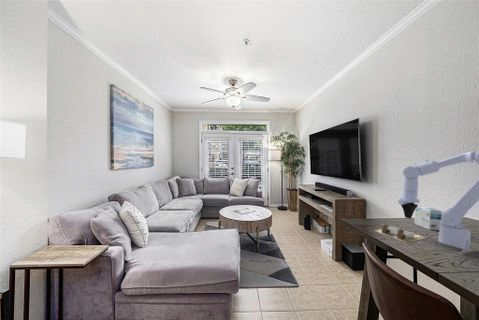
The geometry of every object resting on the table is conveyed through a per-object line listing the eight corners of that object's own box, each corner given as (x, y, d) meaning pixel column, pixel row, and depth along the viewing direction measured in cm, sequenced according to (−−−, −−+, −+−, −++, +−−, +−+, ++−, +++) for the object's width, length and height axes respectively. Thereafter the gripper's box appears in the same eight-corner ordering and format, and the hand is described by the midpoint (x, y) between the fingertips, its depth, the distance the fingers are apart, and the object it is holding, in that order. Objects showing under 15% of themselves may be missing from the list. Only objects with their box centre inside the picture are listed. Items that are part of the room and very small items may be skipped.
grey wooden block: (414, 237, 100) (414, 233, 100) (405, 239, 97) (405, 235, 97) (391, 230, 109) (391, 226, 109) (382, 231, 106) (383, 227, 106)
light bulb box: (441, 230, 116) (443, 210, 115) (429, 230, 116) (430, 210, 115) (425, 224, 126) (426, 206, 126) (413, 223, 126) (414, 205, 126)
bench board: (426, 240, 101) (427, 229, 100) (407, 244, 94) (408, 233, 94) (392, 229, 114) (393, 219, 114) (373, 232, 107) (374, 222, 107)
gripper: (409, 188, 113) (407, 214, 113) (392, 189, 106) (390, 216, 107) (425, 191, 106) (423, 218, 107) (408, 192, 100) (406, 221, 100)
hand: (408, 217), depth 106 cm, fingers closed
